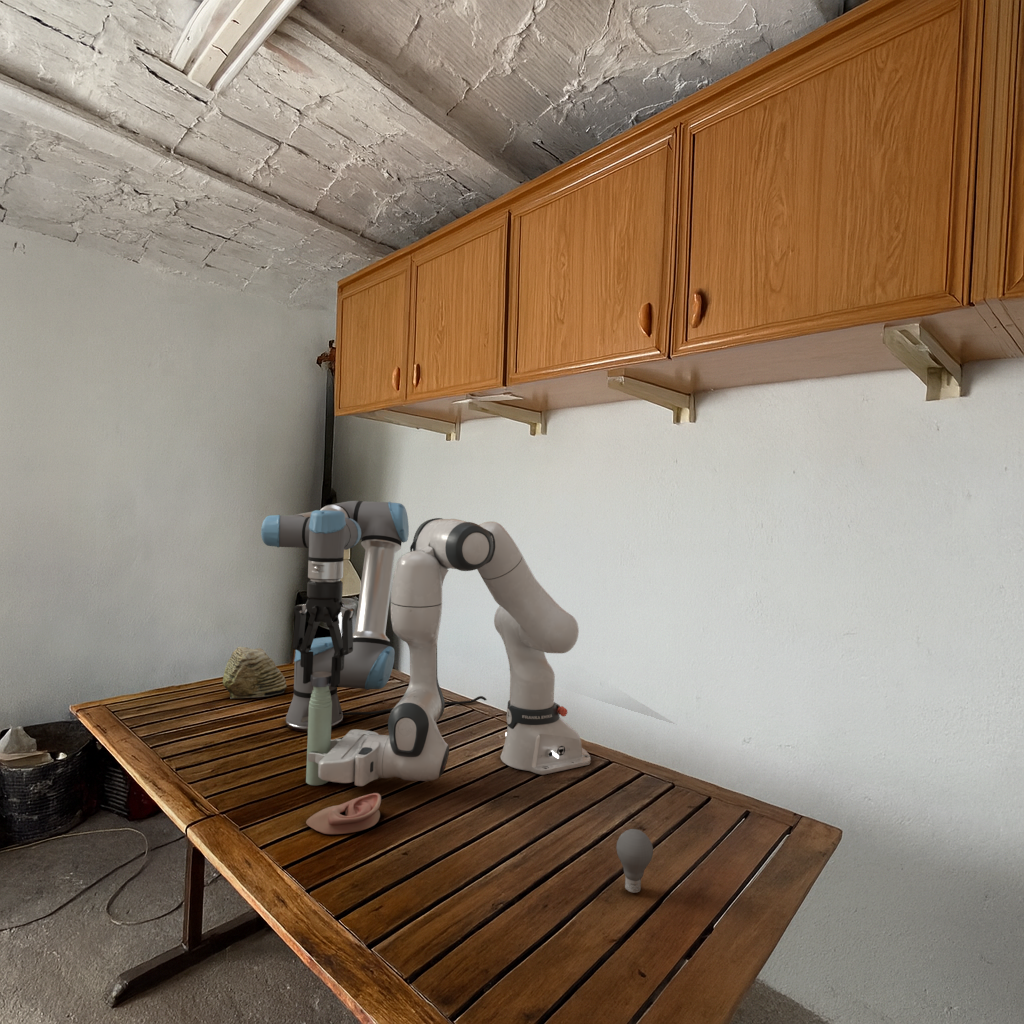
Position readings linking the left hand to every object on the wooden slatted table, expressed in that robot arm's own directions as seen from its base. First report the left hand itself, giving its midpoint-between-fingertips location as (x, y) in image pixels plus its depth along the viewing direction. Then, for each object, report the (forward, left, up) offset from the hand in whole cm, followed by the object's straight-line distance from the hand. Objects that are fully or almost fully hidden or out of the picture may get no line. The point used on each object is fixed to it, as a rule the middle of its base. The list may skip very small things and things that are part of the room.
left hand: (321, 683), depth 141 cm
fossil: (-21, -65, -22) cm, 71 cm away
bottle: (0, 0, -22) cm, 22 cm away
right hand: (0, -1, -15) cm, 15 cm away
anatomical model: (+7, +19, -22) cm, 30 cm away
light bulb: (-12, +72, -22) cm, 76 cm away
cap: (0, 0, +2) cm, 2 cm away
